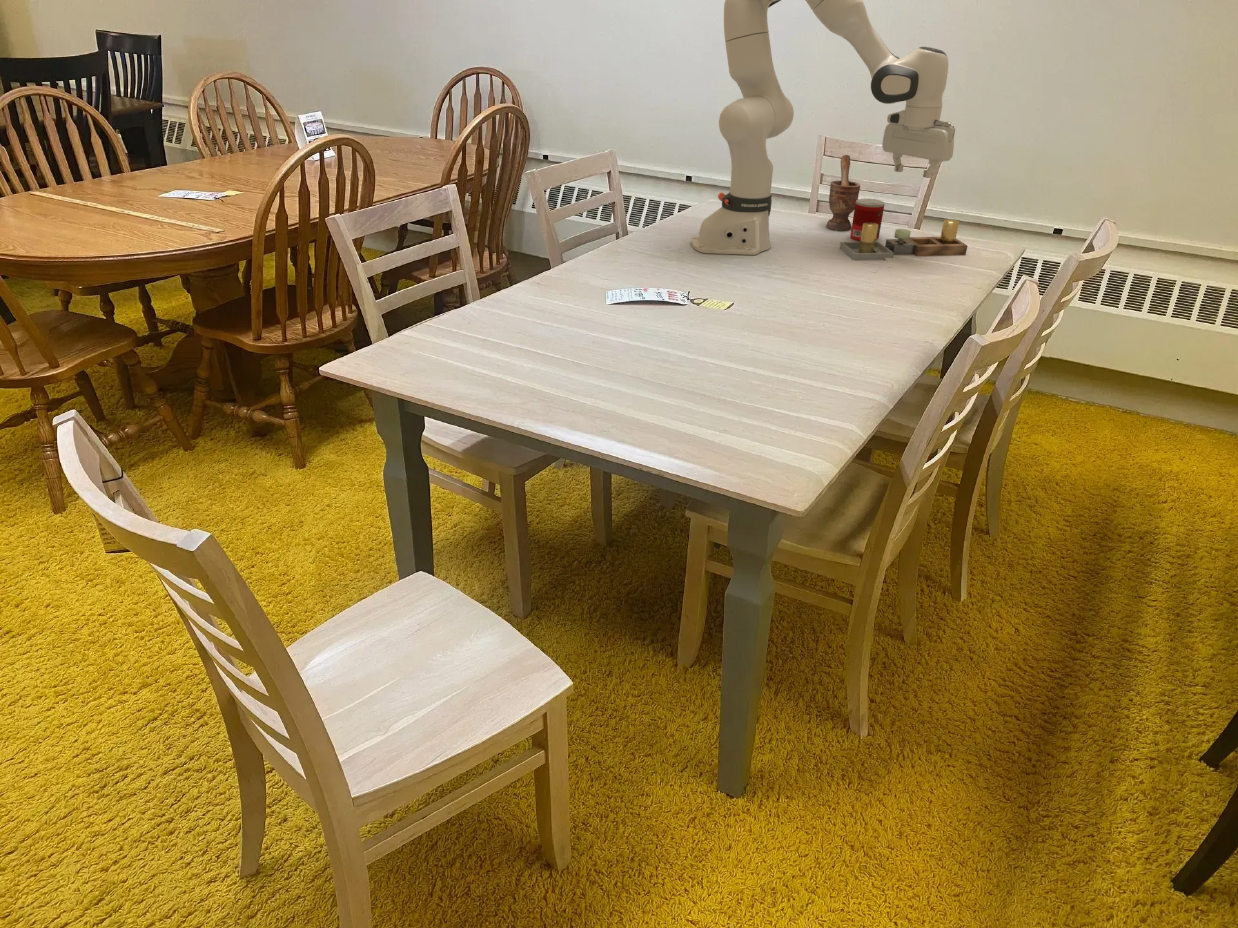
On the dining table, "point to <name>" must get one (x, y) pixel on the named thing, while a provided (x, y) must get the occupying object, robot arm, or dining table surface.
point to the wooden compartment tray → (937, 247)
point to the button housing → (900, 247)
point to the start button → (902, 235)
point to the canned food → (866, 216)
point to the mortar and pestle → (842, 198)
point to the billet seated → (949, 231)
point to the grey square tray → (853, 250)
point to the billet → (868, 237)
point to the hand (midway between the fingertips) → (912, 174)
